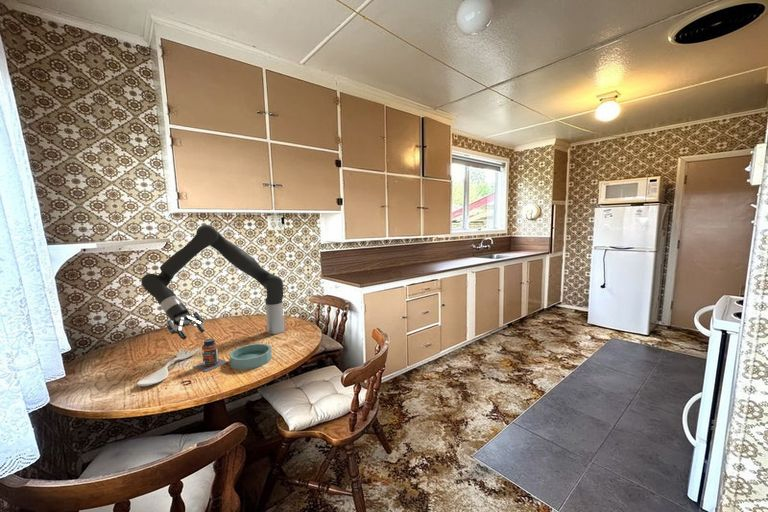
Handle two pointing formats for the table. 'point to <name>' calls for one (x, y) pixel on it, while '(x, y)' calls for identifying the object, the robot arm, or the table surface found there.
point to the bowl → (250, 356)
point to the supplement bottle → (209, 353)
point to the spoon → (164, 369)
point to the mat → (206, 369)
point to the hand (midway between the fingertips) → (194, 334)
